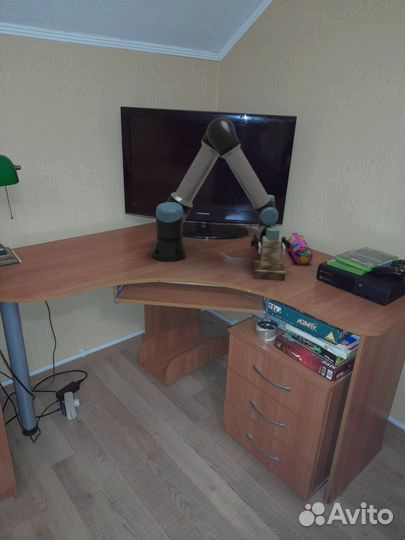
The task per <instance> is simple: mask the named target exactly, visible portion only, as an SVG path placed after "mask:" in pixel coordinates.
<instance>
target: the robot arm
mask: <svg viewBox="0 0 405 540" xmlns="http://www.w3.org/2000/svg"><path fill="white" fill-rule="evenodd" d="M200 142H201V147H200V149H199V151H198V153H197V155H196V156H195V157H194V160H193V161H192V163H191V165H190V166H189V168H188V170H187V172H186V174H185V175H184V178H183V179H182V181H181V183H179V186H178V188H177V190H176V191H175V192H172V193H171V194H170V195H169V197H168V198H167V200H166V202H163V203H162V202H161V203H159V204H158V205H157V206H156V209H155V226H156V228H155V229H156V233H155V234H156V239H155V243H154V245H153V246H154V247H153V250H152V257H153V258H154V257H155V258H157V259H156V260H158V259H160V260H159V261H161V260H165V261H164V262H176V261H175V260H178V261H181V260H180V259H182V260H184V259H185V258H186V257H187V251H186V247H185V244H184V243H185V242H184V240H183V232H184V231H183V226H184V225H183V224H184V223H185V220H186V219H187V217H188V215H189V214H190V212H191V211H192V208H193V207H194V206H193V200H194V199H195V197H196V195H197V194H198V193H199V190H200V189H201V187H202V185H203V184H204V183H205V180H206V179H207V177H208V176H209V174H210V172H211V170H212V169H213V167H214V165H215V163H217V162H216V161H217V159H219V157H220V158H223V159H224V160H225V162H226V163H227V164H228V166H229V168H230V170H231V172H232V173H233V175H234V177H235V178H236V180H237V182H238V183H239V185H240V186H241V188H242V190H243V191H244V193H245V194H246V196H247V198H248V199H249V201H250V203H251V205H252V206H253V208H254V209H255V212H256V213H257V215H258V233H259V236H258V235H256V234H253V238H252V239H251V242H250V248H254V250H256V251H258V254H260V255H261V251H262V240H263V236H265V237H266V229H267V228H276V222H277V221H278V219H279V212H278V210H277V208H276V200H275V199H276V198H275V196H274V195H272V194H268V193H267V192H266V190H265V188H264V187H263V185H262V183H261V180H260V179H259V178H258V176H257V174H256V173H255V171H254V170H253V169H254V168H252V165H251V164H250V162H249V161H248V159H247V157H246V156H245V154H244V152H243V150H242V149H241V145H242V144H241V142H240V140H239V138H238V135H237V133H236V126H235V124H234V123H233V121H232V120H231V119H229V118H227V117H223V116H222V117H221V116H220V117H217V118H214V119H213V120H211V121H210V122H209V124H208V126H207V129H206V132H205V134H204V135H203V137H202V138H201V141H200ZM280 238H281V242H282V243H281V252H282V253H281V254H282V255H283V256H286V252H287V251H288V250H289V249H290V247H291V243H290V242H289V241H288V239H287V237H286V236H282V237H280ZM155 258H154V259H155ZM183 258H184V259H183Z"/></svg>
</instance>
